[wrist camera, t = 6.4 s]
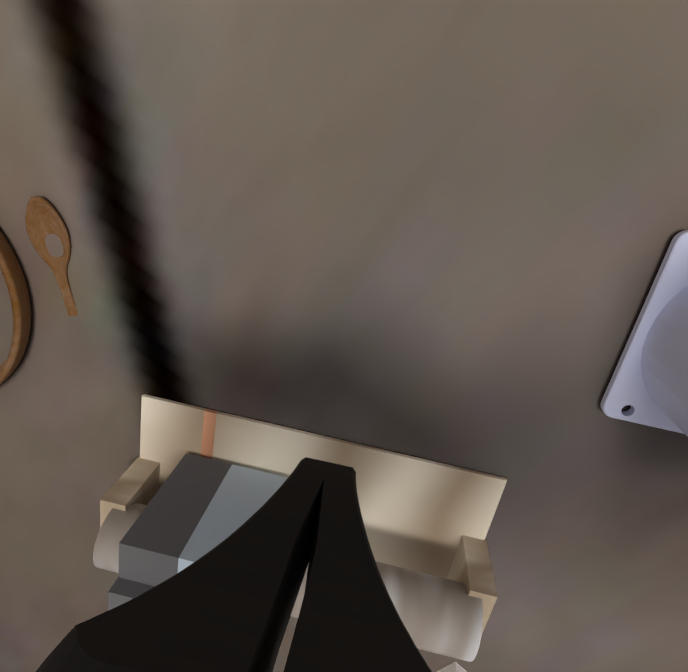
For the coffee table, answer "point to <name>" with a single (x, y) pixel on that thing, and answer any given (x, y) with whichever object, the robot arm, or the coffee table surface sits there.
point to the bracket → (453, 668)
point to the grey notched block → (165, 527)
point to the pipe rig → (375, 505)
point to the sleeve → (229, 509)
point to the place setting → (38, 225)
